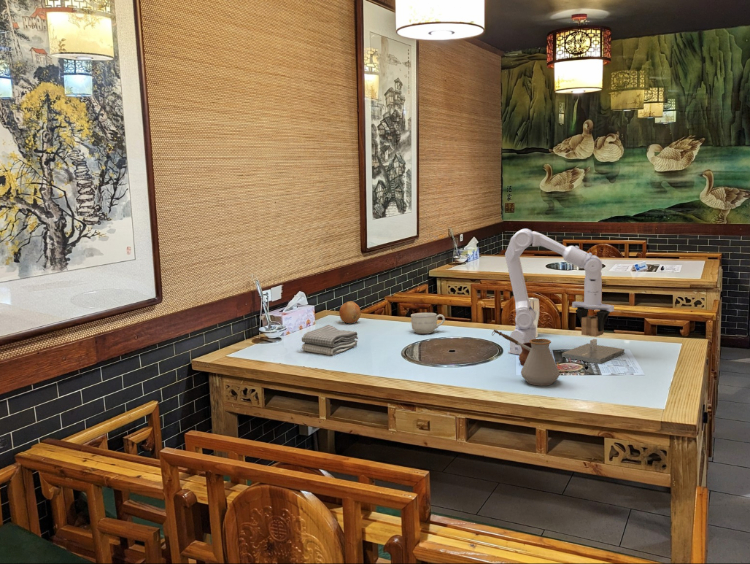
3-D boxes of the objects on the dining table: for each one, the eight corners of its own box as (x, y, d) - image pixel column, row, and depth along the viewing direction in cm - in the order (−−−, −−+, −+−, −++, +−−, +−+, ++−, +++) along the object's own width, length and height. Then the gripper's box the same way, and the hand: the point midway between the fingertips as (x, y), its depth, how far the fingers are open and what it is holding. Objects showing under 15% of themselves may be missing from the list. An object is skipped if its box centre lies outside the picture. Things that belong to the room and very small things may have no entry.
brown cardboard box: (589, 332, 237) (589, 314, 237) (603, 334, 234) (603, 316, 233) (581, 334, 234) (581, 317, 233) (596, 336, 230) (596, 319, 229)
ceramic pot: (559, 358, 232) (559, 338, 231) (559, 373, 215) (559, 351, 214) (506, 357, 237) (506, 338, 236) (502, 372, 220) (502, 351, 219)
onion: (352, 320, 310) (351, 298, 309) (365, 323, 303) (364, 301, 302) (335, 323, 304) (334, 301, 303) (348, 326, 297) (347, 304, 295)
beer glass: (541, 338, 262) (541, 300, 260) (523, 338, 262) (523, 300, 260) (537, 334, 269) (537, 297, 267) (519, 334, 269) (519, 298, 267)
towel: (300, 353, 252) (299, 332, 251) (328, 342, 268) (327, 323, 267) (333, 357, 245) (332, 336, 244) (360, 346, 260) (360, 326, 259)
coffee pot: (564, 379, 207) (565, 332, 205) (552, 389, 197) (552, 339, 195) (499, 371, 218) (499, 325, 216) (485, 380, 209) (484, 332, 207)
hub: (599, 363, 223) (600, 347, 222) (561, 357, 233) (562, 341, 232) (624, 353, 235) (624, 337, 235) (587, 347, 245) (587, 332, 245)
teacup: (408, 335, 276) (407, 315, 275) (414, 329, 286) (414, 311, 285) (441, 336, 272) (441, 316, 271) (446, 330, 282) (446, 311, 281)
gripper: (618, 291, 229) (617, 330, 231) (579, 288, 239) (579, 325, 241) (608, 294, 224) (608, 334, 226) (569, 290, 235) (569, 328, 236)
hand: (592, 329), depth 233 cm, fingers closed on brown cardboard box, 5 cm apart
